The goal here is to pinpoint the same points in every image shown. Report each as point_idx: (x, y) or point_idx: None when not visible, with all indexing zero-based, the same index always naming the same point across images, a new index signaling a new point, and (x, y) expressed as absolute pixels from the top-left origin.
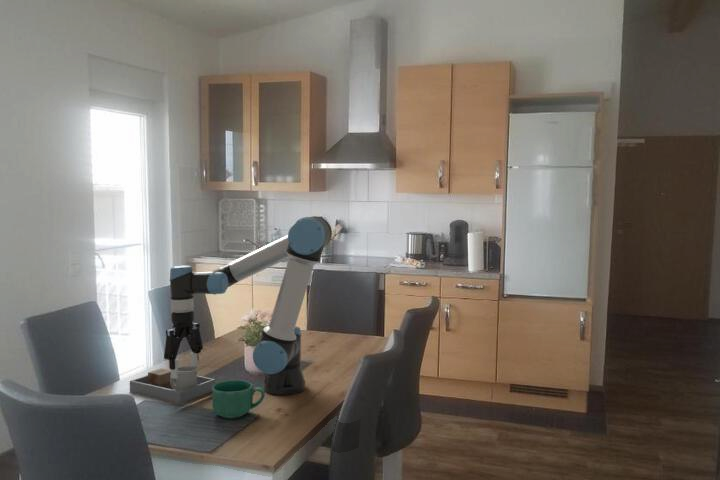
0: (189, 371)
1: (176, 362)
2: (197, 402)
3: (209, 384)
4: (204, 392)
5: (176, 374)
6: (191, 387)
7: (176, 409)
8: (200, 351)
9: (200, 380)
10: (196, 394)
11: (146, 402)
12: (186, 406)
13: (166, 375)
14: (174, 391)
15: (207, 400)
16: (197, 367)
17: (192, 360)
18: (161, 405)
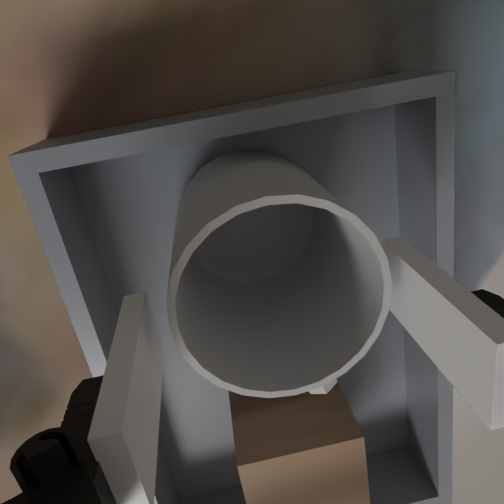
0: (322, 200)
1: (498, 319)
2: (286, 30)
3: (95, 135)
4: (162, 118)
5: (422, 254)
6: (311, 110)
7: (467, 22)
8: (25, 450)
9: (90, 286)
10: (250, 103)
11: (467, 278)
12: (389, 19)
13: (297, 436)
14: (453, 135)
15: (208, 6)
16: (124, 316)
17: (149, 408)
18: (460, 170)
